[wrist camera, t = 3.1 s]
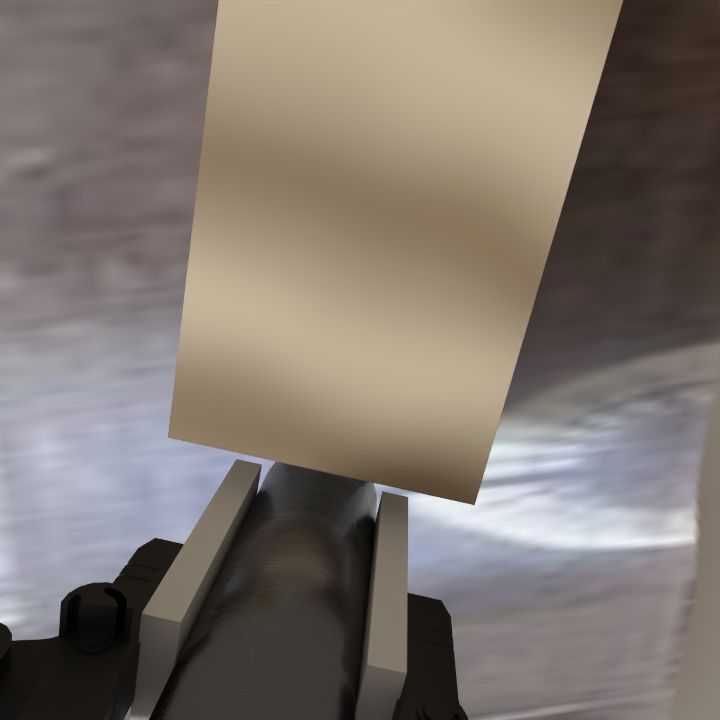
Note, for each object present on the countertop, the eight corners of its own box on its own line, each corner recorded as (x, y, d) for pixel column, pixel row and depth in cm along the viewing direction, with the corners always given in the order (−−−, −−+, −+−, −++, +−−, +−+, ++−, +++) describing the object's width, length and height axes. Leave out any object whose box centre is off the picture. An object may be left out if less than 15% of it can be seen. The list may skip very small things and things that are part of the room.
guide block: (447, 369, 26) (474, 505, 15) (267, 330, 26) (168, 437, 16) (525, 70, 23) (631, -27, 12) (315, 26, 23) (231, -109, 12)
